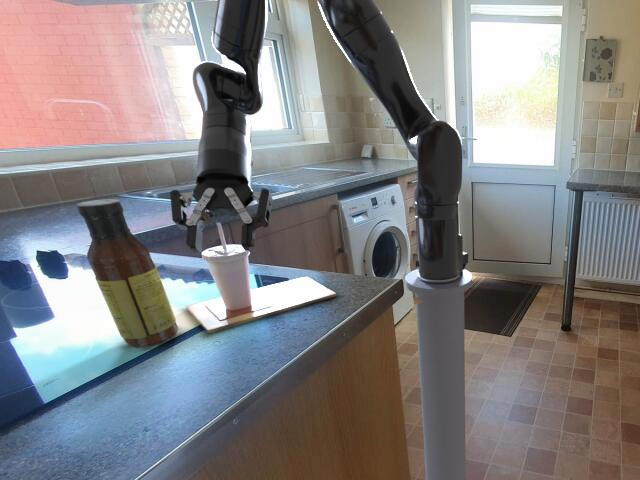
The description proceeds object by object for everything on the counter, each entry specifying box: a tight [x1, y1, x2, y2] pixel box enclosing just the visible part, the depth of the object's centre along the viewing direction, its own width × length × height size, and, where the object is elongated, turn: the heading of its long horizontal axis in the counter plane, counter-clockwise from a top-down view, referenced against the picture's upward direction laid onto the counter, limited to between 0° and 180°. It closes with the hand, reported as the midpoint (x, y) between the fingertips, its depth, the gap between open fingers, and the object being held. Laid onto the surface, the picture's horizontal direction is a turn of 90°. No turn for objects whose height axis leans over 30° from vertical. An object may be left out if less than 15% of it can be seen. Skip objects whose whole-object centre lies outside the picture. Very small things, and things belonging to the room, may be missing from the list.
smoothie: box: [200, 221, 252, 310], centre depth 66 cm, size 6×6×14 cm
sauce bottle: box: [76, 198, 179, 348], centre depth 55 cm, size 7×6×20 cm
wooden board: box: [185, 276, 338, 334], centre depth 71 cm, size 20×12×1 cm, turn 139°
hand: (221, 249), depth 63 cm, fingers closed on smoothie, 6 cm apart
